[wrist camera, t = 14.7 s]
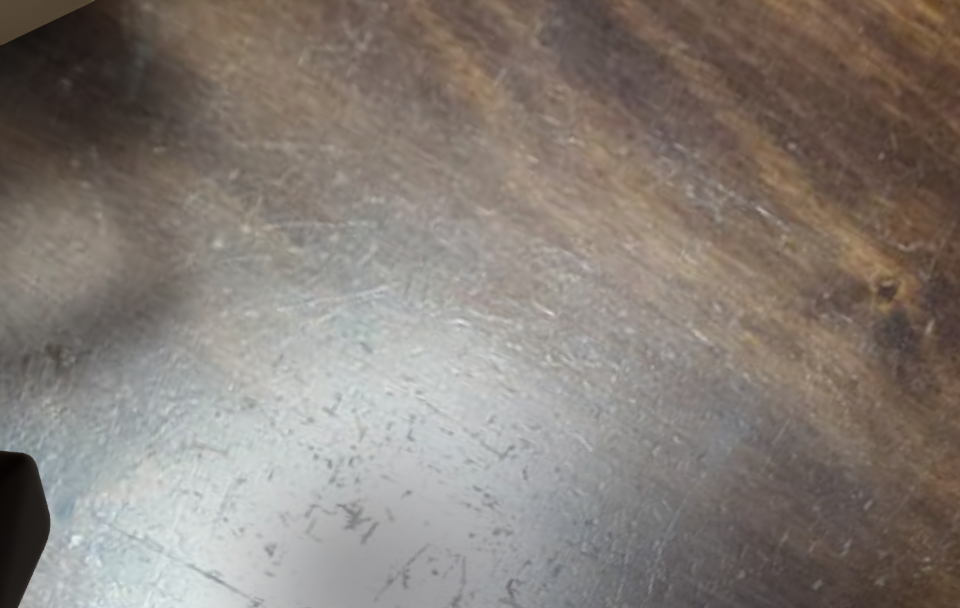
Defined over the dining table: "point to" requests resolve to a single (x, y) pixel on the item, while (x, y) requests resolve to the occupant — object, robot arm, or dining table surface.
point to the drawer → (32, 15)
